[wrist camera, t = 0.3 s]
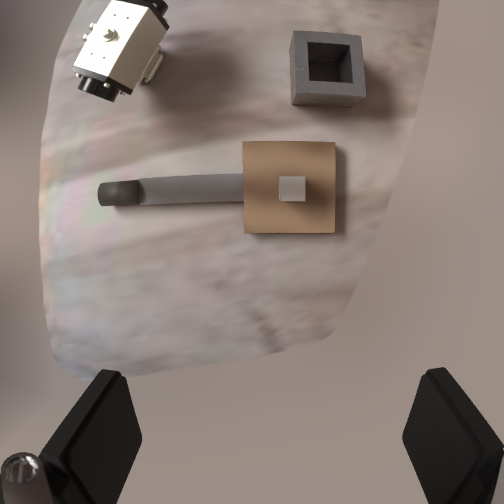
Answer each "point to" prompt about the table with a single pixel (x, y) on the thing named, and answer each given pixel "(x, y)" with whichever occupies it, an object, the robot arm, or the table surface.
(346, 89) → the hollow grey cube
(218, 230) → the table surface
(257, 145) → the mallet
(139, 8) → the pneumatic valve
